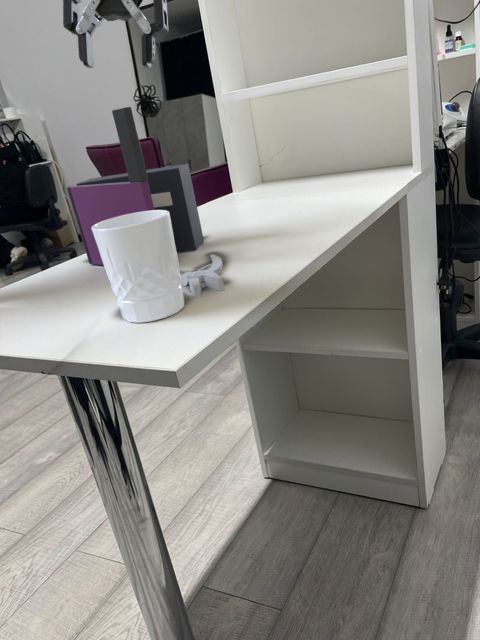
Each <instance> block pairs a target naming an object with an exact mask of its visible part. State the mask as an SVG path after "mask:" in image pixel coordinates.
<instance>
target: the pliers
mask: <svg viewBox="0 0 480 640" xmlns="http://www.w3.org/2000/svg"><path fill="white" fill-rule="evenodd" d="M209 259H210V263H209V264H207V265H204V266H202V267H201V268H199V269H197V271H193V272H192V271H185V272H184V273H180V275H181V287H187V286H188V285H189V288H190V292H192V294H193V296H194V297H195V298H200V297H201V298H202V290H203V288H206V287H207V288H208V289H212V290H215V291H217V292H218V291H219V292H223V291H225V290H226V289H225V283H224V280H223V276H222V275H219V274H220V273H221V272H222V270H223V268H224V264H223V260H222V258H221V257H220V256H218V255H217V254H209ZM211 262H212V263H211Z"/></svg>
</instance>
